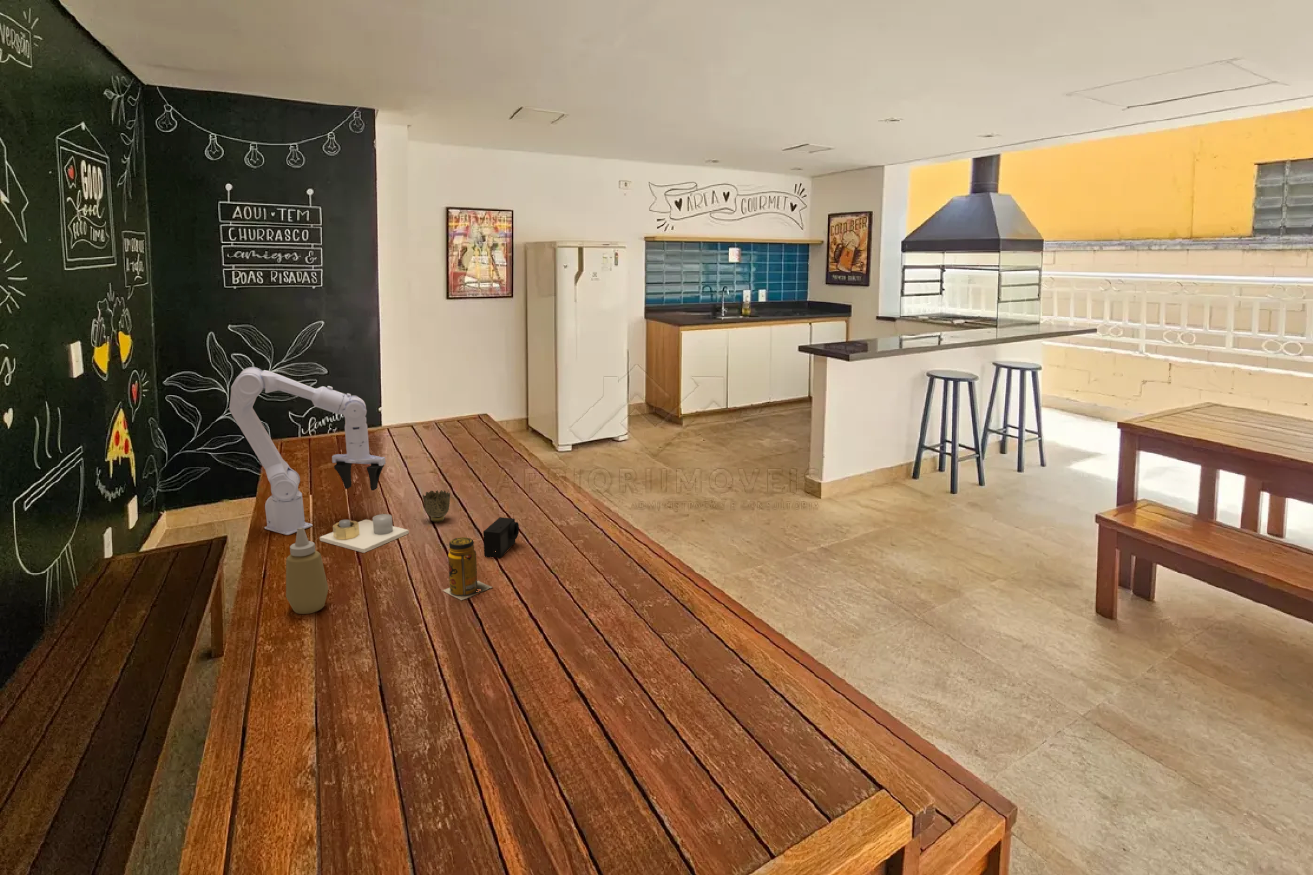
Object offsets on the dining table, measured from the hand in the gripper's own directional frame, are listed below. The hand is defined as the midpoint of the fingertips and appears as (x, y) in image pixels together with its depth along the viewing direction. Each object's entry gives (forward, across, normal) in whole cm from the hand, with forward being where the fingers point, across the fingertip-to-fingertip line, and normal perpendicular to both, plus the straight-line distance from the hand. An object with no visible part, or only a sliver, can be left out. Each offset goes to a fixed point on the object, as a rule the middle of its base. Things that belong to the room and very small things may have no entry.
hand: (361, 488), depth 199 cm
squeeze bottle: (+10, +15, -50) cm, 53 cm away
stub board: (+9, +7, -11) cm, 16 cm away
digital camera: (+10, +45, -13) cm, 48 cm away
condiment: (+10, +45, -36) cm, 58 cm away
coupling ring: (+8, +3, -13) cm, 16 cm away
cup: (+10, +20, +4) cm, 23 cm away
